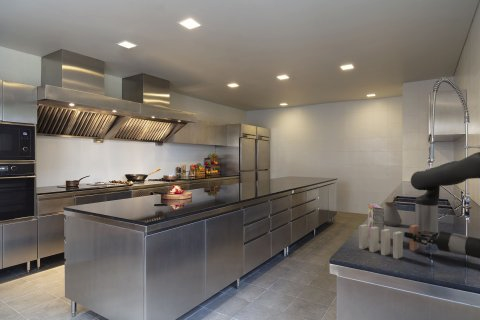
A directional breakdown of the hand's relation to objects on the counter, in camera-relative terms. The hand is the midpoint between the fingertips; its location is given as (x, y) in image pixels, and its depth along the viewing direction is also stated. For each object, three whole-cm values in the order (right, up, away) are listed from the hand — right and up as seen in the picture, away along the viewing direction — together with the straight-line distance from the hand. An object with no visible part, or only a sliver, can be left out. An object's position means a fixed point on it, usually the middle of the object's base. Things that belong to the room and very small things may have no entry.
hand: (407, 233), depth 125 cm
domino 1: (-17, -7, +4) cm, 19 cm away
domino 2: (-15, -7, 0) cm, 16 cm away
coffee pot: (+20, -7, +51) cm, 55 cm away
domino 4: (-9, -7, -9) cm, 14 cm away
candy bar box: (-6, -7, +17) cm, 20 cm away
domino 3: (-12, -7, -4) cm, 14 cm away
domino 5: (+2, -6, -2) cm, 7 cm away
